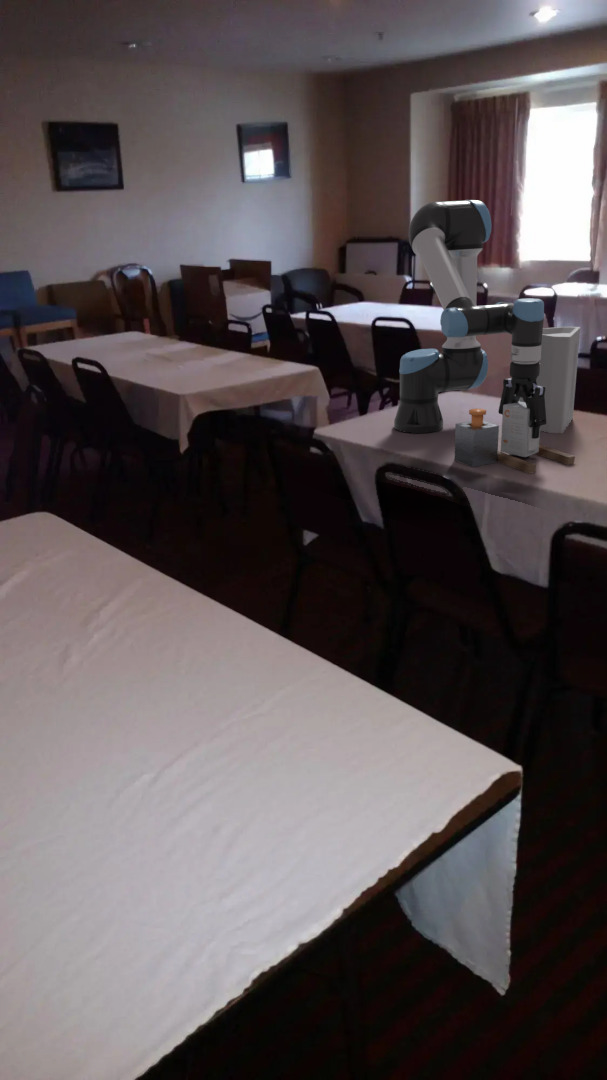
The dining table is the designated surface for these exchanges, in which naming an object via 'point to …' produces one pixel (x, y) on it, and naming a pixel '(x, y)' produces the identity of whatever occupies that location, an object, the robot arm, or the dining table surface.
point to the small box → (516, 430)
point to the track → (529, 466)
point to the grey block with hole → (476, 443)
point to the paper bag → (558, 375)
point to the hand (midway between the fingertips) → (519, 445)
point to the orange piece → (477, 417)
